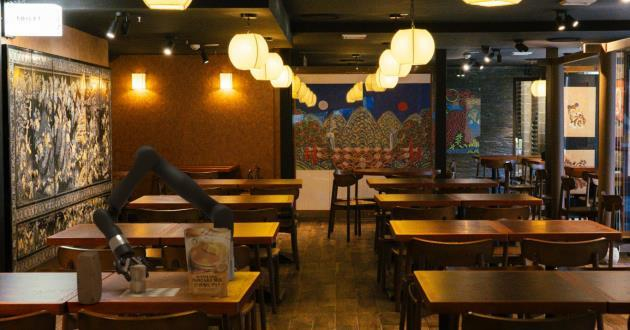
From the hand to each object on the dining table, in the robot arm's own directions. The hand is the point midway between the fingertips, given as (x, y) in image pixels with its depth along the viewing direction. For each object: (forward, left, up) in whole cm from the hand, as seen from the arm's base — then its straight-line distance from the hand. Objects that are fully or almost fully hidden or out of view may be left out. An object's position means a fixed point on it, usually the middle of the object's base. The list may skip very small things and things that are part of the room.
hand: (138, 278), depth 309 cm
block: (+18, +7, -8) cm, 21 cm away
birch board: (-4, -1, -7) cm, 9 cm away
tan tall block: (+1, -1, -6) cm, 6 cm away
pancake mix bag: (-28, 0, -8) cm, 29 cm away
